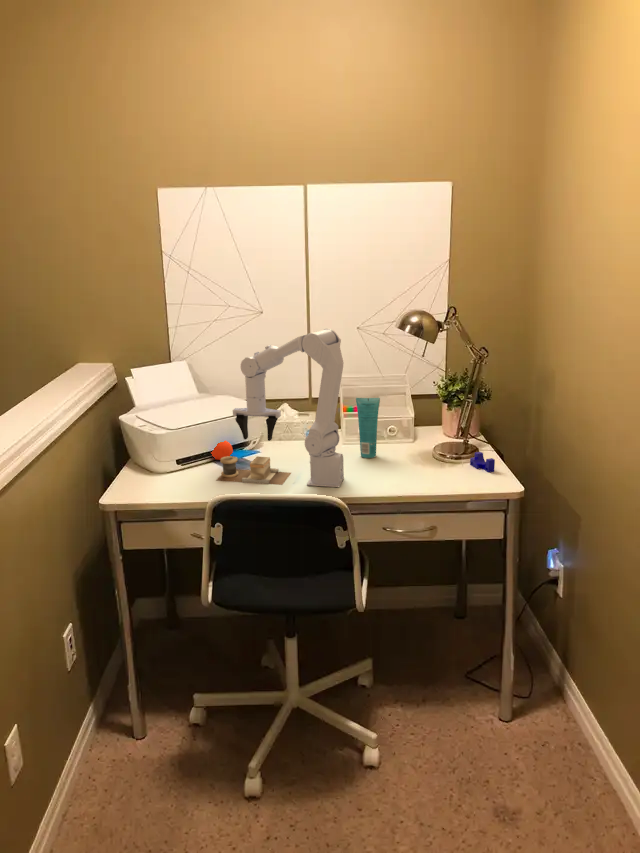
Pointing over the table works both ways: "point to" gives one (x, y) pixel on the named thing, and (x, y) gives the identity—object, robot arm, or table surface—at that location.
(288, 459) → the table surface
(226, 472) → the spool
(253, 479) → the brown rectangular board
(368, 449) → the tube
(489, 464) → the cable holder
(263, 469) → the block
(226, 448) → the clementine
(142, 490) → the table surface
